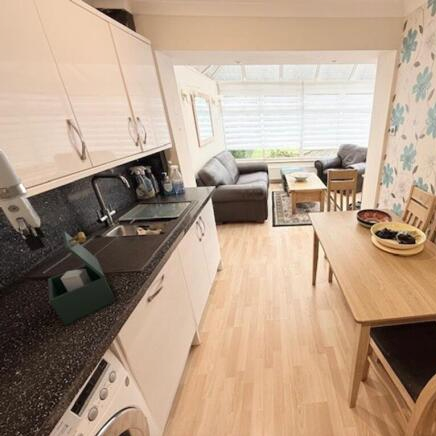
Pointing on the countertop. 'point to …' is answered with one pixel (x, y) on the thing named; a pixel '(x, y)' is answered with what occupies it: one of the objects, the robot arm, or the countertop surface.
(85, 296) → the chest
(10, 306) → the countertop surface
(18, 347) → the countertop surface
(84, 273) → the cosmetic box
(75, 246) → the lid
